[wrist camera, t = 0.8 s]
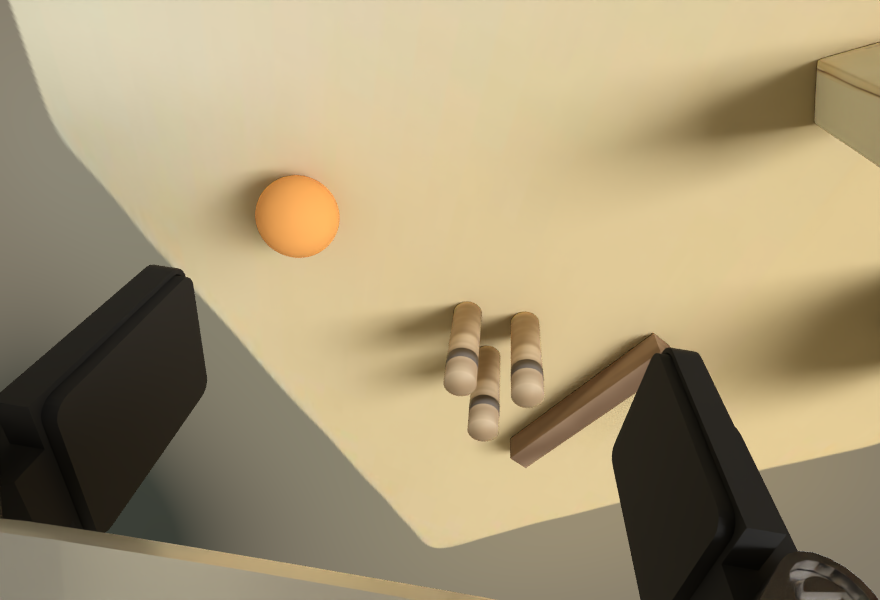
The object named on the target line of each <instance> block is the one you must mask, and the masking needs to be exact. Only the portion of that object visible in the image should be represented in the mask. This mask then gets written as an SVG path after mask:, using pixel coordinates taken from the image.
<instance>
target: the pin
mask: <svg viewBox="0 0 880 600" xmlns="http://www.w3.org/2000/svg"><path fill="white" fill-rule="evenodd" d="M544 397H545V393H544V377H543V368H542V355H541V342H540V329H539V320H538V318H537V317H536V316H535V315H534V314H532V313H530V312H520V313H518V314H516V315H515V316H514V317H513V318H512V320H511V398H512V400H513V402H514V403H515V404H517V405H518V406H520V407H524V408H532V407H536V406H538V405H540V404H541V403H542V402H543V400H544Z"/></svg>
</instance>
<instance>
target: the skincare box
mask: <svg viewBox="0 0 880 600" xmlns="http://www.w3.org/2000/svg"><path fill="white" fill-rule="evenodd" d="M815 124H816V125H818V126H819V127H821V128H822V129H824V130H825V131H827V132H828V133H830V134H831V135H833V136H834V137H836V138H837V139H839V140H840V141H842V142H843V143H845V144H846V145H848V146H849V147H851V148H852V149H854V150H855V151H857V152H858V153H859V154H861V155H862V156H864V157H865V158H867V159H868V160H870V161H871V162H873V163H874V164H876V165H877V166H878V167H880V43H876V44H873V45H869V46H865V47H862V48H858V49H854V50H851V51H847V52H844V53H840V54H837V55H833V56H830V57H826V58H823V59H820V60H819V61H818V63H817V78H816V97H815Z"/></svg>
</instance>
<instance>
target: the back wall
mask: <svg viewBox="0 0 880 600" xmlns="http://www.w3.org/2000/svg"><path fill="white" fill-rule="evenodd" d="M668 347H669V348H670V346H669V345H668V344H667V343H665V342H664V341H663V340H662V339H660V338H659V337H658V336H657V335H655V334H654V333H653V334H652V335H650V336H649V337H648V338H646V339H645V340H643V341H642V342H641V343H639V344H638V345H637V346H635V347H634V348H633V349H631V350H630V351H629V352H627V353H626V354H624V355H623V356H622V357H620V358H619V359H618V360H616V361H615V362H614V363H612V364H611V365H610V366H608V367H607V368H605V369H604V370H603V371H601V372H600V373H599V374H597V375H596V376H595V377H593V378H592V379H591V380H589V381H588V382H586V383H585V384H584V385H582V386H581V387H580V388H578V389H577V390H576V391H574V392H573V393H572V394H570V395H569V396H567V397H566V398H565V399H563V400H562V401H561V402H559V403H558V404H557V405H555V406H554V407H553V408H551V409H550V410H548V411H547V412H546V413H544V414H543V415H542V416H540V417H539V418H538V419H536V420H535V421H534V422H532V423H531V424H529V425H528V426H527V427H525V428H524V429H523V430H521V431H520V432H519V433H517V434H516V435H515V436H513V437H512V438H510V458H511V459H512V460H514V461H516V462H517V463H519V464H520V465H522V466H523V467H525V468H526V467H528V466H529V465H531V464H532V463H534V462H535V461H537V460H538V459H539V458H541V457H542V456H544V455H545V454H547V453H548V452H550V451H551V450H553V449H554V448H556V447H557V446H558V445H560V444H561V443H563V442H564V441H566V440H567V439H569V438H570V437H572V436H573V435H575V434H576V433H578V432H579V431H580V430H582V429H583V428H585V427H586V426H588V425H589V424H591V423H592V422H594V421H595V420H597V419H598V418H599V417H601V416H602V415H604V414H605V413H607V412H608V411H610V410H611V409H613V408H614V407H616V406H617V405H618V404H620V403H621V402H623V401H624V400H626V399H627V398H629V397H630V396H632V395H633V394H635V393H636V392H637V390H638V388H639V386H640V383H641V381H642V379H643V376H644V374H645V372H646V369H647V367H648V365H649V362H650V360H651V358H652V356H653V355H654V354H655V353H660V354H661V353H662V352H663V350H664V349H665V348H668Z"/></svg>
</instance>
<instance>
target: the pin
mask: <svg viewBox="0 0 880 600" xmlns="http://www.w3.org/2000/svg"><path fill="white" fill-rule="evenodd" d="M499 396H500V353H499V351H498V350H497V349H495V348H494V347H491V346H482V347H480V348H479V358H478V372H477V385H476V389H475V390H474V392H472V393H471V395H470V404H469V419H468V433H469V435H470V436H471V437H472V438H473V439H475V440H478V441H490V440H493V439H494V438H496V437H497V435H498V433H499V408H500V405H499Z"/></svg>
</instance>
